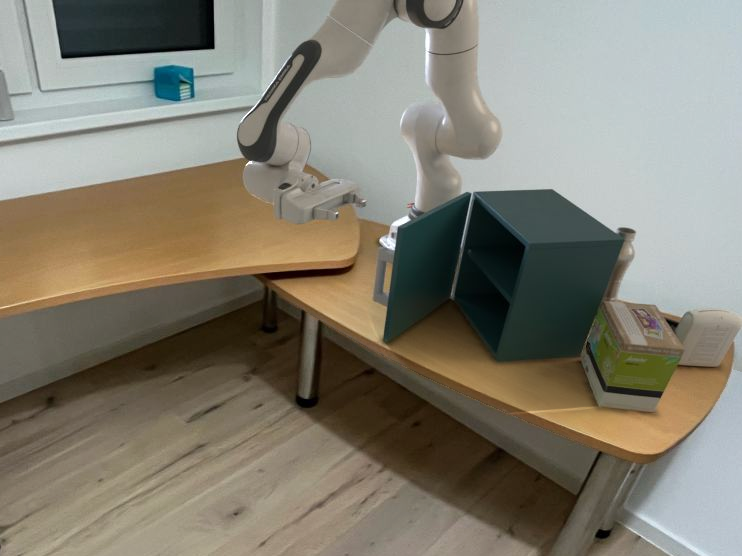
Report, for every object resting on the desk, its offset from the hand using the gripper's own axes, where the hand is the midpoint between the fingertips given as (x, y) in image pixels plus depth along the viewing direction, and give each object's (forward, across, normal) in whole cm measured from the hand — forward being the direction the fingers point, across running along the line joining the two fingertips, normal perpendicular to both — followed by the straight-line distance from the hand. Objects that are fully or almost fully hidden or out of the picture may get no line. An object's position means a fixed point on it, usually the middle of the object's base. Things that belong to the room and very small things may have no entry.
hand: (350, 210), depth 117 cm
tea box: (+55, -15, -25) cm, 62 cm away
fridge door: (+11, -10, -25) cm, 29 cm away
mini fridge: (+30, -22, -25) cm, 45 cm away
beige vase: (+42, -42, -26) cm, 65 cm away
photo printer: (+63, -35, -26) cm, 77 cm away
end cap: (+54, -35, -26) cm, 70 cm away
